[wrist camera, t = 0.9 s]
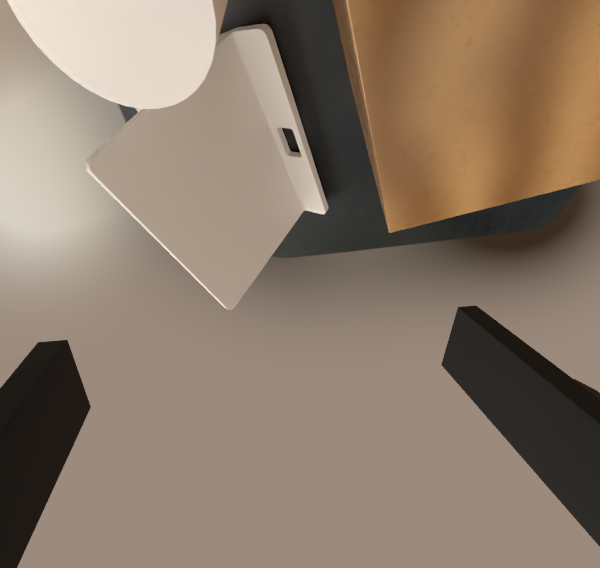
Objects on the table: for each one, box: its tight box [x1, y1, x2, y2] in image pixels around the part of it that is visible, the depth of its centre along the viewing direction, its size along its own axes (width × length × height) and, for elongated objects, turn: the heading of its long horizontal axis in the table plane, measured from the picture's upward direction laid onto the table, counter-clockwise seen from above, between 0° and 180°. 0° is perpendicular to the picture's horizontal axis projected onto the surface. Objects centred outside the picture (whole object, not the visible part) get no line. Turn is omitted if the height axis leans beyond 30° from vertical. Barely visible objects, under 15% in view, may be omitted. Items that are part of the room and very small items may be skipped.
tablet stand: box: [85, 24, 328, 310], centre depth 39 cm, size 18×25×17 cm
